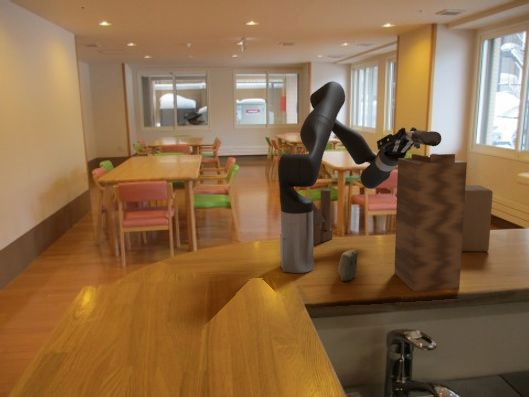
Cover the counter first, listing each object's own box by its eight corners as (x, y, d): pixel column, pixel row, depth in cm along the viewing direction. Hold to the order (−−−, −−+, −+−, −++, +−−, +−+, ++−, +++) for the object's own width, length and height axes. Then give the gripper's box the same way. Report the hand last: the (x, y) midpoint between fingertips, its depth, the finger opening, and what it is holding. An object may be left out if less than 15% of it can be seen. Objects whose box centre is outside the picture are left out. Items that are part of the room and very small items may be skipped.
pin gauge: (427, 146, 112) (427, 131, 112) (396, 141, 133) (396, 128, 132) (441, 146, 112) (441, 131, 112) (408, 140, 133) (408, 128, 132)
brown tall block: (413, 291, 114) (418, 155, 107) (394, 273, 126) (398, 150, 120) (459, 288, 114) (467, 153, 108) (436, 271, 127) (442, 149, 121)
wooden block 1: (306, 243, 157) (305, 192, 154) (324, 237, 165) (324, 188, 161) (314, 245, 154) (314, 193, 151) (332, 239, 162) (333, 189, 159)
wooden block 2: (478, 243, 153) (482, 185, 149) (489, 252, 143) (494, 189, 139) (447, 243, 154) (450, 185, 150) (456, 252, 144) (460, 190, 140)
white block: (358, 283, 119) (359, 254, 118) (338, 283, 120) (338, 254, 118) (356, 276, 125) (357, 248, 123) (337, 275, 125) (337, 248, 124)
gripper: (366, 145, 144) (383, 118, 128) (409, 144, 145) (431, 117, 129) (370, 167, 142) (387, 142, 126) (413, 166, 143) (436, 141, 127)
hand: (409, 130), depth 127 cm, fingers closed on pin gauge, 2 cm apart
